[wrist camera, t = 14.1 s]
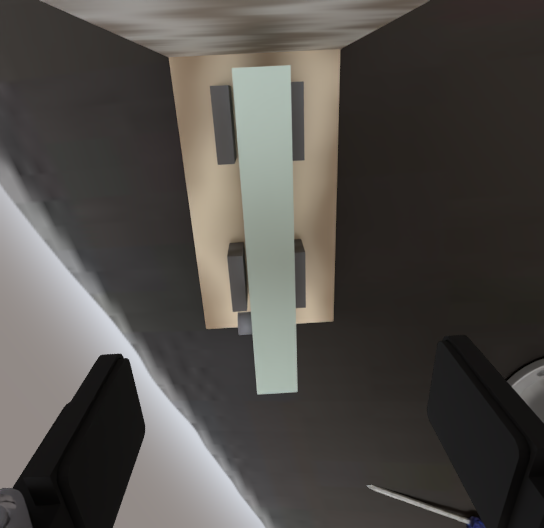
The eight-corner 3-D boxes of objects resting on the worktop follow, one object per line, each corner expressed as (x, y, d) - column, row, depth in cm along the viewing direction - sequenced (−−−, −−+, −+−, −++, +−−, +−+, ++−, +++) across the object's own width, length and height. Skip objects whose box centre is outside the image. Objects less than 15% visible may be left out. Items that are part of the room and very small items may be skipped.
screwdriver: (359, 491, 49) (367, 521, 45) (373, 473, 47) (383, 502, 44) (515, 534, 54) (533, 564, 50) (532, 519, 53) (551, 548, 49)
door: (276, 77, 27) (290, 65, 16) (283, 297, 34) (297, 391, 23) (224, 79, 27) (203, 69, 16) (243, 299, 34) (237, 395, 23)
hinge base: (336, 27, 27) (492, -103, 9) (330, 313, 37) (400, 514, 19) (169, 35, 27) (2, -83, 9) (208, 320, 37) (164, 531, 19)
